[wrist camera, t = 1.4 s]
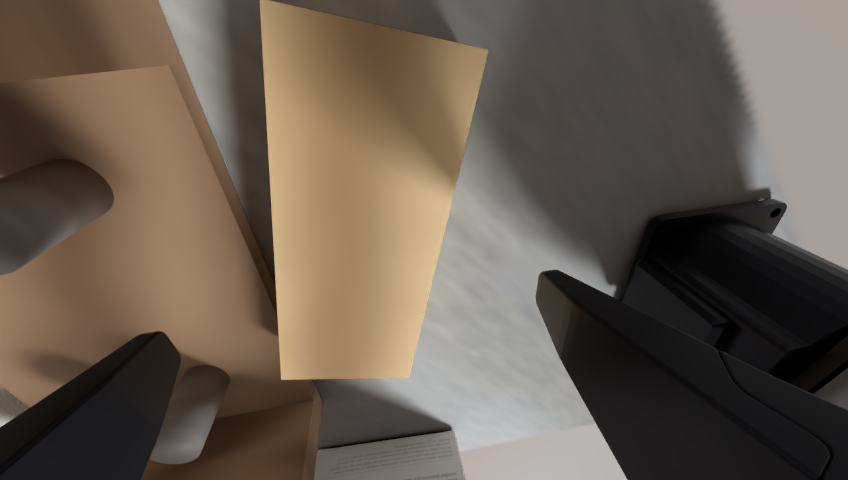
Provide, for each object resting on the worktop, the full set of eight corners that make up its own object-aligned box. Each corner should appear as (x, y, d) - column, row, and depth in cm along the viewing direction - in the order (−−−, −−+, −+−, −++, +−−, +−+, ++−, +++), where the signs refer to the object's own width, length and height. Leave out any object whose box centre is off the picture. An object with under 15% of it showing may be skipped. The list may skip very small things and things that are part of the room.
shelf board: (458, 48, 10) (488, 50, 8) (402, 324, 16) (409, 378, 13) (290, 11, 9) (259, -2, 6) (295, 322, 15) (281, 379, 12)
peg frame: (154, -10, 8) (-119, -76, 4) (323, 403, 18) (307, 529, 13) (-377, 25, 7) (-1721, -9, 3) (106, 443, 17) (7, 595, 12)
